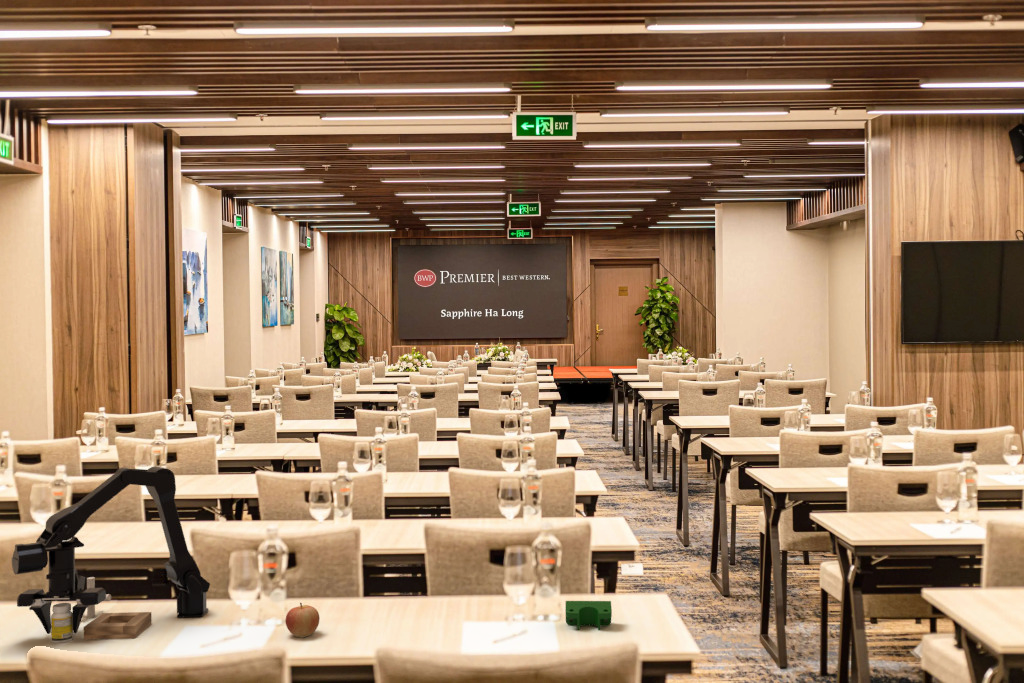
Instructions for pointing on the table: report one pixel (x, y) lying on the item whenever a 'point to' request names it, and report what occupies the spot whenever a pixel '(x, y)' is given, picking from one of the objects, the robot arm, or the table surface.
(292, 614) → the apple
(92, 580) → the pipe connector
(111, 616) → the holder
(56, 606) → the supplement bottle
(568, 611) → the clamp
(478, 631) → the table surface
